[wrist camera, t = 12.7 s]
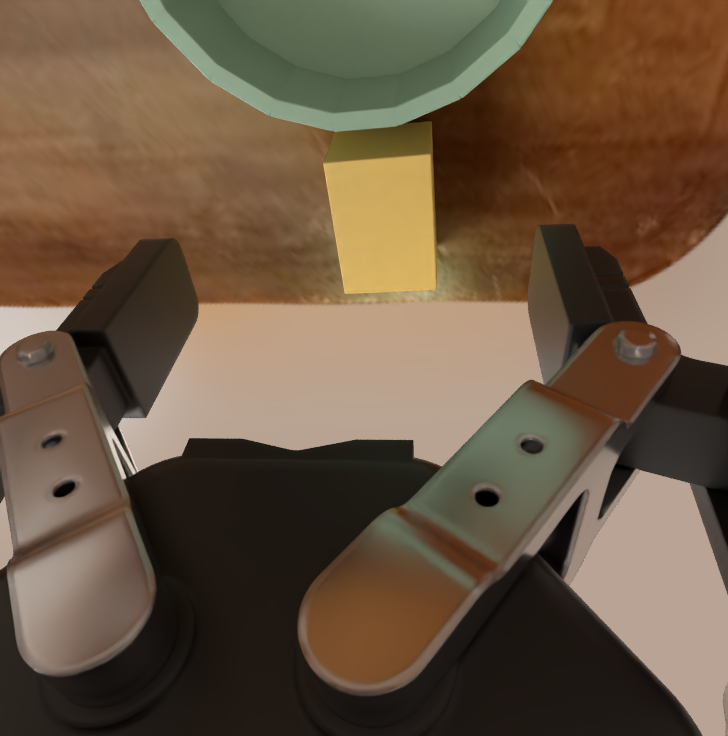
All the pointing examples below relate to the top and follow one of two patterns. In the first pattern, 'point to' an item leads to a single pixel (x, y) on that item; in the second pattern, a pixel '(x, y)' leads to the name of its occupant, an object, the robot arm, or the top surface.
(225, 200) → the top surface
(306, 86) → the pan
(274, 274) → the top surface
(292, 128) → the top surface
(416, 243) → the cheese
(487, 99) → the top surface
